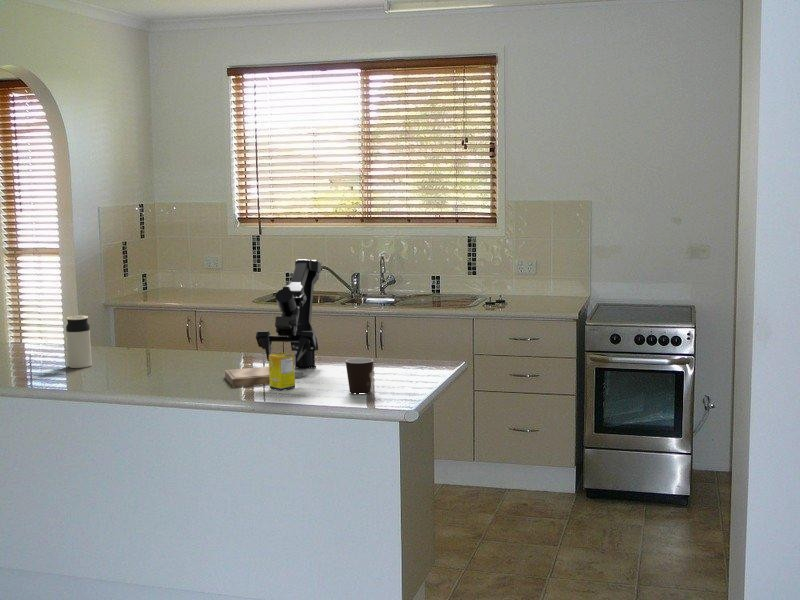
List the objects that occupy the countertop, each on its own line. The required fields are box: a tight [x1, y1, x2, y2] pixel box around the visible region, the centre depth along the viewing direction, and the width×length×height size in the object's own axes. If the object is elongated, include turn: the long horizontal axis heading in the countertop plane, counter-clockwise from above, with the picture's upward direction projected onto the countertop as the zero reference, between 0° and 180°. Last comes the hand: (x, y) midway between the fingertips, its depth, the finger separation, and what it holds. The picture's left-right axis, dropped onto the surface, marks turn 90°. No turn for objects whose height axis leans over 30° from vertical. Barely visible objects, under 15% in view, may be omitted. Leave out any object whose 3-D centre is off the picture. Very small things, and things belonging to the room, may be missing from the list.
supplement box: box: [268, 352, 296, 392], centre depth 303 cm, size 6×6×11 cm
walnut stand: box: [224, 366, 270, 388], centre depth 316 cm, size 16×16×3 cm
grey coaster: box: [295, 371, 305, 379], centre depth 321 cm, size 9×9×1 cm
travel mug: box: [65, 315, 93, 369], centre depth 343 cm, size 8×8×18 cm
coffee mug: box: [345, 357, 374, 395], centre depth 297 cm, size 12×9×10 cm
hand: (282, 360), depth 303 cm, fingers open, 9 cm apart
